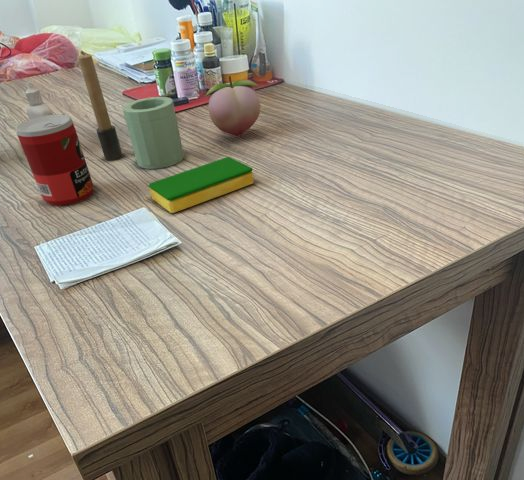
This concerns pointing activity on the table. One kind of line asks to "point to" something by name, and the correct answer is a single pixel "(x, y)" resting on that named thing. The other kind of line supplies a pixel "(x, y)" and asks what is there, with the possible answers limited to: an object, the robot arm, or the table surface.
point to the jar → (154, 132)
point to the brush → (100, 110)
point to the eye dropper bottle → (36, 103)
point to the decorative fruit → (234, 106)
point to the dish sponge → (201, 184)
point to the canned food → (56, 159)
